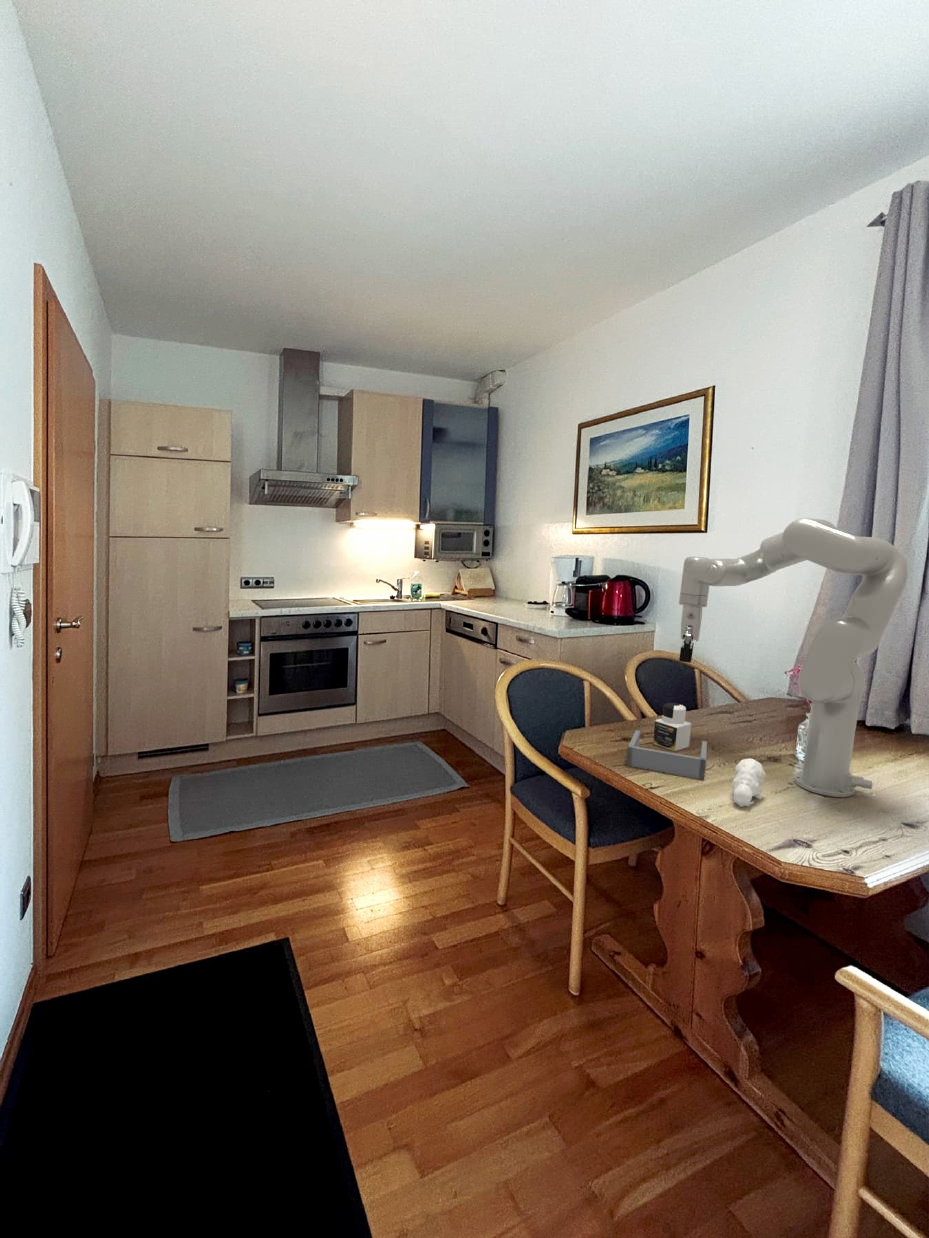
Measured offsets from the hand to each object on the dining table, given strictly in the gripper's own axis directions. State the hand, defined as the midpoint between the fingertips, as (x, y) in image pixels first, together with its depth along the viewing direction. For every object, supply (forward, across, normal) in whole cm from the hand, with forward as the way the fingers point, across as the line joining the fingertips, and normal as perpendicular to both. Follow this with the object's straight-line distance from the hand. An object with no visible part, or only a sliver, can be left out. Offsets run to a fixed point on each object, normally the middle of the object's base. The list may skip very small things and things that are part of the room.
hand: (685, 658), depth 175 cm
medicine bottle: (+24, -10, +1) cm, 26 cm away
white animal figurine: (+23, -40, -17) cm, 49 cm away
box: (+23, -24, +1) cm, 33 cm away
